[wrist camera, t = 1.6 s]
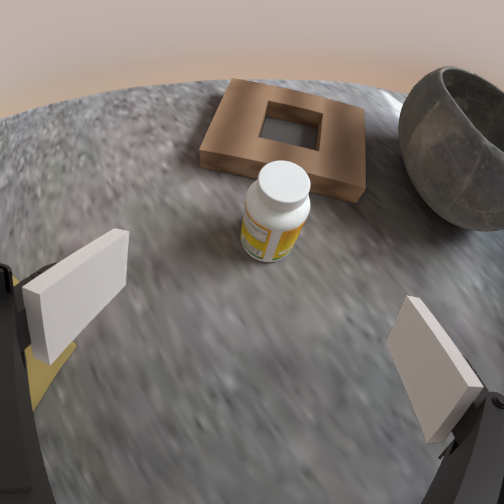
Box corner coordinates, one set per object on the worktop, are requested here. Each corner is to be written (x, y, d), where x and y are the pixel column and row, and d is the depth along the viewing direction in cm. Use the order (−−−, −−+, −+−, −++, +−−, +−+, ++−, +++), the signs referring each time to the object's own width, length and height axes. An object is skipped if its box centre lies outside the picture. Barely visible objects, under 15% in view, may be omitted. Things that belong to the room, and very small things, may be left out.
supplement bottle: (238, 261, 31) (244, 205, 23) (242, 213, 34) (250, 149, 25) (293, 266, 31) (320, 214, 23) (294, 218, 34) (317, 158, 25)
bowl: (470, 149, 43) (515, 88, 30) (507, 262, 34) (580, 208, 21) (365, 120, 42) (403, 36, 29) (391, 249, 33) (470, 164, 20)
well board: (357, 124, 41) (363, 109, 39) (356, 203, 35) (365, 188, 33) (231, 95, 42) (232, 78, 39) (200, 167, 36) (199, 149, 33)
